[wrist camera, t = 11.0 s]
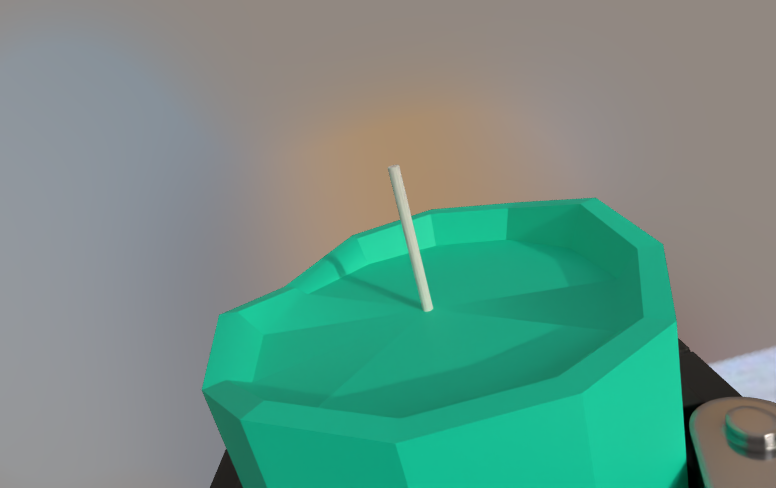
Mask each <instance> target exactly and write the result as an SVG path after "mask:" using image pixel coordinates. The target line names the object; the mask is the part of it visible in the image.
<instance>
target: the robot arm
mask: <svg viewBox="0 0 776 488" xmlns="http://www.w3.org/2000/svg"><path fill="white" fill-rule="evenodd" d="M678 348H679V362H680V376H681V390H682V403H683V417H684V431H685V445H686V459H687V473H688V487H689V488H776V403H774V402H771V401H767V400H762V399H757V398H750V397H742V396H741V395H740V394H739V393H738V392H737V391H736V390H735V389H734V388H732V387H731V386H730V385H729V384H728V383H727V382H726V381H725V380H724V379H723V378H721V377H720V376H719V375H718V374H717V373H716V372H715V371H714V370H713V369H712V368H710V367H709V366H708V365H707V364H706V363H705V362H704V361H703V360H701V358H700V357H698V356H697V355H696V354H695V353H694V352H690V350H689V347H687V346H686V345H685V344H684V343H683V342H682V341H681V340H680V339H678ZM210 488H243V486H242V484H241V482H240V479H239V477H238V474H237V472H236V470H235V467H234V465H233V463H232V460H231V458H230V456H229V453H228V451H227V449H226V450H225V453H224V455H223V458H222V460H221V463H220V465H219V467H218V470H217V472H216V474H215V477H214V479H213V482H212V484H211V486H210Z"/></svg>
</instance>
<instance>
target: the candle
mask: <svg viewBox="0 0 776 488" xmlns="http://www.w3.org/2000/svg"><path fill="white" fill-rule="evenodd" d="M388 171H389V175H390V179H391V183H392V187H393V191H394V195H395V199H396V203H397V207H398V211H399V215H400V220H398V221H395V222H392V223H389V224H386V225H383V226H380V227H376V228H373V229H370V230H367V231H364V232H361V233H358V234H355V235H352V236H351V237H350V238H348V239H347V240H346V241H344V242H343V243H342V244H340V245H339V246H338V247H336V248H335V249H334V250H333V251H331V252H330V253H328V254H327V255H326V256H324V257H323V258H322V259H320V260H319V261H318V262H316V263H315V264H314V265H313V266H311V267H310V268H309V269H307V270H306V271H305V272H303V273H302V274H301V275H299V276H298V277H297V278H295V279H294V280H293V281H291V282H290V283H289V284H287V285H286V286H285V287H283V288H281V289H278V290H276V291H273V292H271V293H269V294H267V295H264V296H262V297H260V298H257V299H255V300H253V301H251V302H248V303H246V304H243V305H241V306H239V307H236V308H234V309H232V310H229V311H227V312H225V313H223V314H220V315H219V318H218V322H217V326H216V331H215V335H214V339H213V344H212V348H211V352H210V357H209V361H208V365H207V369H206V374H205V378H204V382H203V387H202V392H203V394H204V396H205V399H206V401H207V403H208V406H209V408H210V411H211V413H212V415H213V418H214V420H215V423H216V425H217V427H218V430H219V432H220V434H221V437H222V439H223V441H224V444H225V446H226V448H227V451H228V453H229V456H230V458H231V460H232V463H233V465H234V467H235V470H236V472H237V474H238V477H239V479H240V482H241V484H242V486H243V488H689V487H688V473H687V459H686V445H685V431H684V417H683V403H682V390H681V376H680V362H679V348H678V334H677V321H676V315H675V309H674V303H673V298H672V292H671V287H670V281H669V276H668V270H667V264H666V258H665V253H664V247H663V244H662V243H660V242H659V241H658V240H656V239H655V238H653V237H652V236H650V235H649V234H647V233H646V232H645V231H643V230H642V229H640V228H639V227H637V226H636V225H634V224H633V223H632V222H630V221H629V220H627V219H626V218H624V217H623V216H621V215H620V214H618V213H617V212H616V211H614V210H613V209H611V208H610V207H608V206H607V205H605V204H604V203H603V202H601V201H599V200H598V199H597V198H584V199H567V200H550V201H533V202H517V203H504V204H492V205H480V206H469V207H456V208H444V209H432V210H428V211H426V212H422V213H419V214H416V215H413V216H411V213H410V209H409V205H408V201H407V197H406V192H405V188H404V184H403V180H402V176H401V172H400V167H399V165H393V166H390V167H388Z"/></svg>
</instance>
